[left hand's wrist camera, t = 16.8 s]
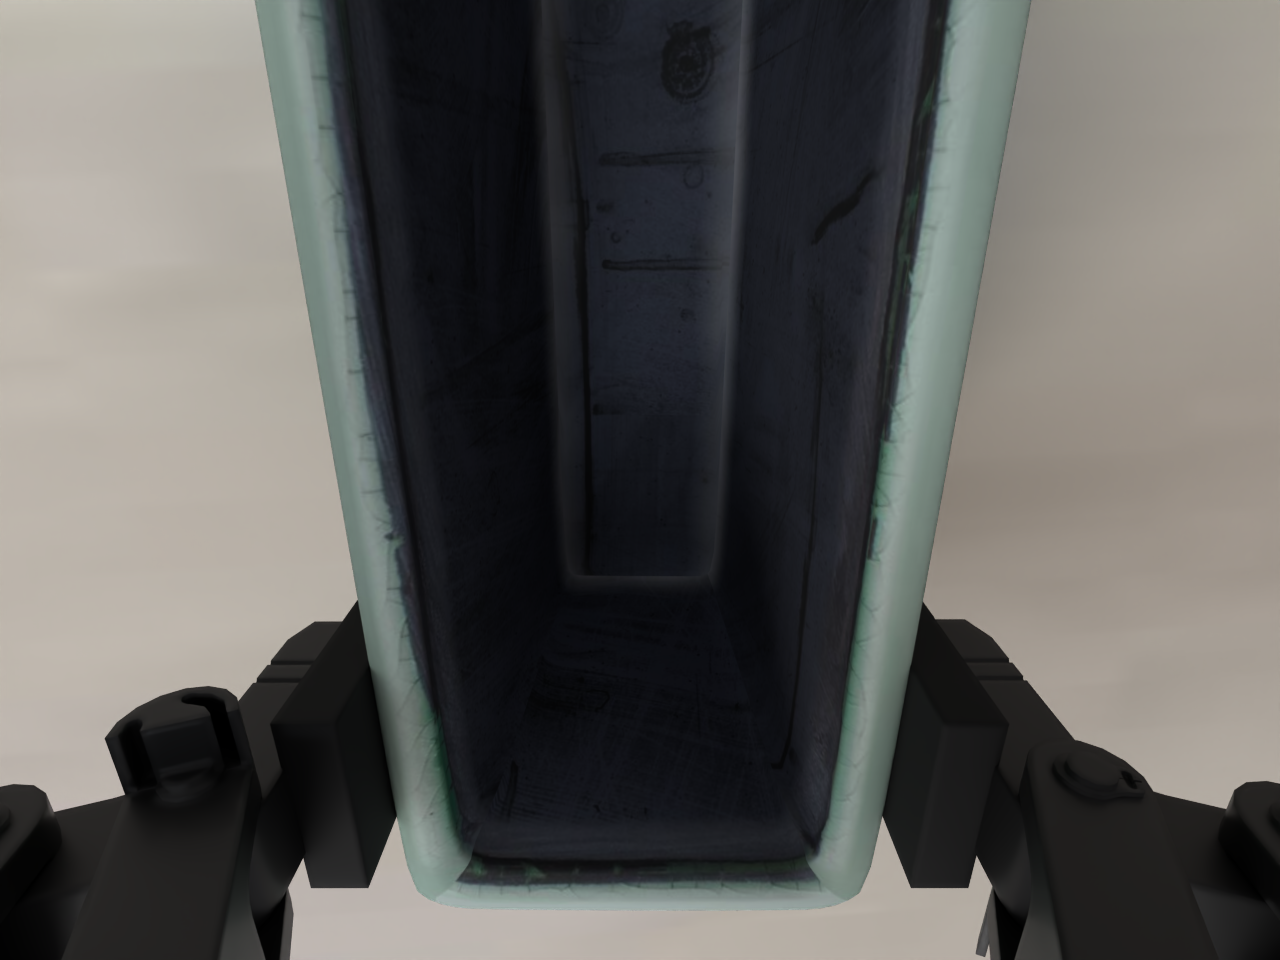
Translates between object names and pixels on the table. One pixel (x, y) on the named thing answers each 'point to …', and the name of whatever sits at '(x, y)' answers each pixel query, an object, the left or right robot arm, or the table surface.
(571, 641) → the planter
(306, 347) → the table surface
